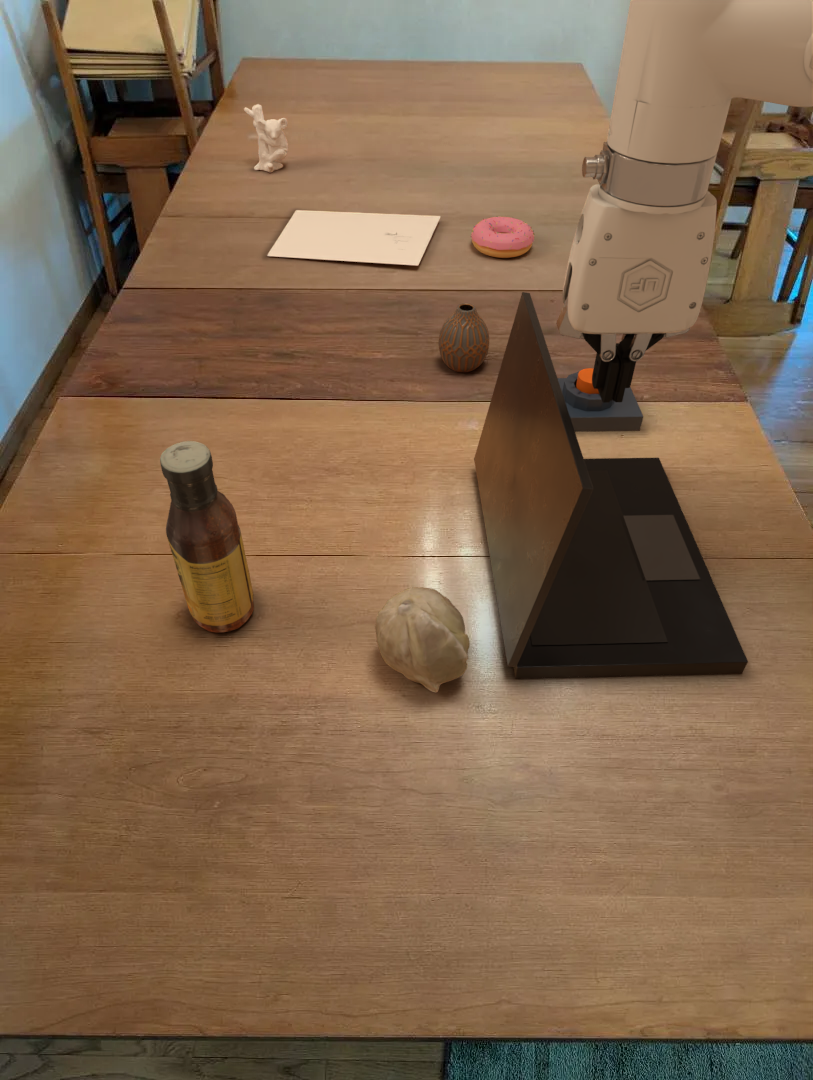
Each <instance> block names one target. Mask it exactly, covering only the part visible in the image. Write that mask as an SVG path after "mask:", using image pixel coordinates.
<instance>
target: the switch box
mask: <svg viewBox="0 0 813 1080" xmlns="http://www.w3.org/2000/svg"><path fill="white" fill-rule="evenodd" d="M580 371H581V370H579V371H576V372H573V373H571V374H568V375H567V377H557V378H558V381H559V384H560V388H561V391H562V394H563V397H564V400H565V403H566V406H567V409H568V412H569V415H570V418H571V421H572V425H573V428H574V431H575V433H577V432H579V433H580V432H581V433H583V432H585V433H586V432H639V431H641V428H642V425H643V424H642V423H643V421H644V415H643V412H642V410H641V407H640V406H639V403H638V401H637V398H636V396H635V394H634V392H633V390H632V387H631V386H630V388H625V392H624V396H623V400H622V402H615V401H613V400H612V401H610V402H608V403H603V402H602V399H601V397H600V394H588V393H584V392H581V391H580V390H578V389H577V388H576V383H577V378H578V373H579V372H580Z"/></svg>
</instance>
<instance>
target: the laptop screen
mask: <svg viewBox="0 0 813 1080" xmlns="http://www.w3.org/2000/svg"><path fill="white" fill-rule="evenodd" d="M518 302H519V303H518V306H517V309H516V312H515V316H514V319H513V323H512V326H511V330H510V333H509V337H508V341H507V343H506V346H505V351H504V353H503V358H502V360H501V364H500V368H499V371H498V374H497V377H496V382H495V385H494V388H493V392H492V394H491V399H490V403H489V406H488V409H487V412H486V416H485V420H484V422H483V427H482V430H481V433H480V437H479V441H478V444H477V447H476V451H475V454H474V458H473V460H474V468H475V474H476V480H477V486H478V491H479V499H480V504H481V510H482V517H483V522H484V528H485V534H486V541H487V547H488V548H487V549H488V552H489V559H490V565H491V571H492V577H493V584H494V590H495V596H496V602H497V608H498V613H499V621H500V626H501V633H502V639H503V645H504V651H505V657H506V662H507V664H506V665H507V668H508V667H509V668H513V667H516V666H517V664H518V662H519V660H520V657H521V655H522V653H523V650H524V648H525V646H526V643H527V641H528V639H529V636H530V634H531V632H532V630H533V627H534V625H535V623H536V620H537V618H538V616H539V613H540V611H541V609H542V606H543V604H544V602H545V600H546V597H547V595H548V593H549V590H550V588H551V586H552V583H553V581H554V579H555V576H556V574H557V572H558V570H559V567H560V565H561V563H562V560H563V558H564V556H565V553H566V551H567V549H568V546H569V544H570V542H571V540H572V537H573V535H574V533H575V530H576V528H577V526H578V523H579V521H580V519H581V516H582V514H583V512H584V510H585V507H586V505H587V503H588V500H589V498H590V496H591V493H592V491H593V486H592V483H591V480H590V477H589V474H588V471H587V468H586V465H585V461H584V459H585V458H584V456H583V452H582V450H581V446H580V443H579V439H578V437H577V434H576V432H575V431H574V428H573V425H572V421H571V418H570V415H569V412H568V409H567V406H566V403H565V400H564V397H563V394H562V391H561V388H560V384H559V381H558V378H559V377H558V375H557V372H556V369H555V366H554V364H553V360H552V356H551V354H550V351H549V347H548V344H547V342H546V339H545V336H544V332H543V330H542V327H541V323H540V320H539V317H538V314H537V311H536V307H535V305H534V301H533V298H532V296H531V293H530V292H525V291H522V292H521V295H520V299H519V301H518Z"/></svg>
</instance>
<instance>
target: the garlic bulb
mask: <svg viewBox="0 0 813 1080" xmlns="http://www.w3.org/2000/svg"><path fill="white" fill-rule="evenodd" d="M374 630H375V631H374V632H375V639H376V643H377V646H378V650H379V654H380V656H381V658H382V659H383V662H384V663H385V664H386V665H387V666H389V667H390V668H391V669H392V670H394V671H395V672H398V673H401V674H402V675H403V676H404V677H405V678H406V679H407V680H409V681H411V682H413V683H417V684H421V685H422V686H423V687H425V688H426V689H427V690H428V691H430V692H432V693H438V692H439V690H440V686H441V685H442V684H445V683H448V682H452V681H454V680H457V679H458V678H460V677H462V676H463V675H464V674H465V672H466V670H467V669H468V662H467V661H468V660H469V655H468V652H469V649H470V645H471V644H470V638H469V635H468V634H466V624H465V620H464V618H463V615H462V613H461V612H460V611H459V609H457V608H456V606H455V605H454V604H453V603H452V601H451V600H450V599H449V598H448V597H447V596H444V595H443V594H442V593H441V592H439V591H438V590H437V589H434V588H430V587H425V586H424V587H423V586H419V587H418V586H412V587H409V588H406V589H404V590H402V591H400V592H398V593H396V594H394V595H392V596H391V598H389V599H388V600H387V601H386V603H385V604H384V606H383V607H382V608H381V609H380V610H379V611H377V614H376V618H375V624H374Z"/></svg>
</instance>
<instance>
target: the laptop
mask: <svg viewBox="0 0 813 1080" xmlns="http://www.w3.org/2000/svg"><path fill="white" fill-rule="evenodd" d="M584 461H585V465H586V468H587V471H588V474H589V477H590V480H591V483H592V486H593V491H592V493H591V496H590V498H589V500H588V503H587V505H586V507H585V510H584V512H583V514H582V516H581V519H580V521H579V523H578V526H577V528H576V530H575V533H574V535H573V537H572V540H571V542H570V544H569V546H568V549H567V551H566V553H565V556H564V558H563V560H562V563H561V565H560V567H559V570H558V572H557V574H556V576H555V579H554V581H553V583H552V586H551V588H550V590H549V593H548V595H547V597H546V600H545V602H544V604H543V606H542V609H541V611H540V613H539V616H538V618H537V620H536V623H535V625H534V627H533V630H532V632H531V634H530V636H529V639H528V641H527V643H526V646H525V648H524V650H523V653H522V655H521V657H520V660H519V662H518V664H517V666H516V667H512V668H513V673H514V680H537V679H538V680H540V679H546V680H547V679H575V678H576V679H583V678H621V677H662V676H663V677H665V676H666V677H667V676H699V675H700V676H703V675H704V676H705V675H740V674H741V675H742V674H743V673H744V671H745V669H746V667H747V665H748V663H749V660H748V659H747V656H746V654H745V651H744V649H743V647H742V645H741V642H740V640H739V638H738V635H737V633H736V631H735V628H734V626H733V624H732V622H731V619H730V617H729V615H728V613H727V611H726V608H725V606H724V603H723V601H722V599H721V597H720V594H719V592H718V590H717V587H716V585H715V583H714V581H713V578H712V576H711V574H710V572H709V569H708V567H707V564H706V563H705V560H704V558H703V555H702V553H701V551H700V548H699V546H698V544H697V541H696V538H695V537H694V535H693V532H692V529H691V528H690V526H689V523H688V521H687V518H686V516H685V514H684V512H683V509H682V506H681V505H680V503H679V501H678V498H677V495H676V494H675V491H674V489H673V487H672V484H671V482H670V480H669V477H668V475H667V473H666V470H665V468H664V466H663V464H662V461H661V459H660V457H606V458H605V457H604V458H600V457H599V458H598V457H597V458H584Z"/></svg>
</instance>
